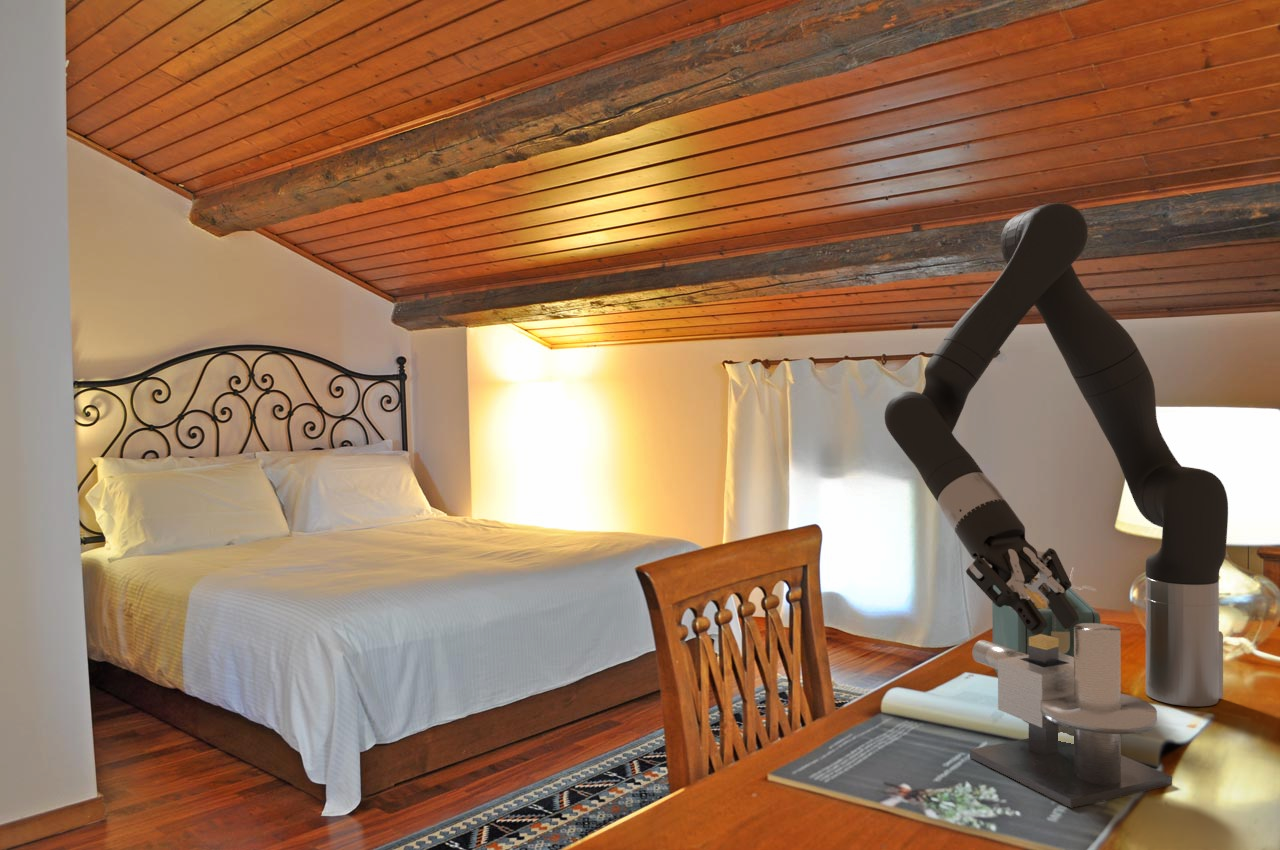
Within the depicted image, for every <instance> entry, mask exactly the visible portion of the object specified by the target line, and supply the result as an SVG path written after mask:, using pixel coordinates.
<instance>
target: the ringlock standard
mask: <svg viewBox="0 0 1280 850" xmlns="http://www.w3.org/2000/svg"><path fill="white" fill-rule="evenodd" d="M1121 630H1122V629H1121V628H1119V627H1117V626H1115V625H1112V624H1106V623H1100V624H1098V623H1082V624H1077V625H1075V626H1074V657H1072V656H1068V655H1065V654H1062V653H1059V665H1056V666H1050V667H1041V666H1038V665H1035V664H1032V663H1029V655H1027V654H1024V653H1021V652H1018V651H1015V650H1012V649H1009V648H1006V647H1003V646H1000V645H997V644H994V643H993V642H992V641H988V640H986V639H980V640H978V641H976V642H975V643H974V645H973V647H972V649H971V650H972V652H971V653H972V657H973V660H974V661H975V662H976V663H979V664H982V665H984V666H987V667H990V668H992V669H994V668H995V669H998V675H997V706H998V707H997V710H998V711H1001V712H1003V713H1006V714H1007V715H1011V716H1013V717H1015V718H1018V719H1020V720H1022V721H1024V722H1027V723H1028V724H1029V723H1031V724H1034V725H1036V726H1039V727H1041V728H1045V727H1050V726H1055V725H1058V726H1060V725H1061V726H1063V727H1067V728H1071V729H1073V731H1074V733H1073V734H1074V744H1071V743H1066V742H1061V741H1058V752H1057V753H1054V754H1051V755H1049V756H1043V755H1040V754H1038V753H1035V752H1032V751H1029V737H1027V738H1024V739H1023V738H1022V739H1018V740H1017V739H1016V740H1013V741H1007V742H1002V743H1001V742H1000V743H998V744H992V745H987V746H981V747H977V748H971V749H969V758H970V759H972V760H974V761H976V762H978V763H979V764H981V763H982V764H981V765H983V766H985V765H986V766H985V767H987V768H989V769H991V768H992V770H993V769H994V771H995V770H996V772H997V771H998V773H999V772H1000V773H999V774H1001V773H1002V775H1003V774H1004V775H1003V776H1005V775H1006V776H1005V777H1007V776H1008V777H1007V778H1009V777H1010V779H1011V778H1012V780H1013V779H1014V781H1015V780H1016V781H1015V782H1017V781H1018V782H1017V783H1019V782H1020V784H1021V785H1023V786H1026V787H1027V786H1028V787H1027V788H1030V789H1031V790H1033V791H1035V792H1038V793H1039V792H1040V793H1039V794H1041V793H1042V794H1041V795H1043V794H1044V795H1043V796H1045V795H1046V796H1045V797H1047V798H1050V799H1051V798H1052V799H1051V800H1053V799H1054V800H1053V801H1055V800H1056V801H1055V802H1057V801H1058V804H1061V803H1062V804H1061V805H1063V806H1065V807H1067V806H1068V807H1067V808H1069V807H1070V808H1069V809H1074V808H1073V807H1075V808H1079V807H1083V806H1086V805H1087V806H1088V805H1091V804H1096V803H1100V802H1104V800H1105V801H1108V800H1109V801H1110V800H1114V799H1116V798H1117V797H1118V798H1121V797H1120V796H1122V797H1125V796H1131V795H1134V794H1139V793H1143V792H1147V791H1151V790H1155V789H1159V788H1163V787H1169V786H1172V785H1173V776H1172V775H1170V774H1167V773H1165V772H1163V771H1161V770H1159V769H1156V768H1153V767H1151V766H1149V765H1147V764H1143V763H1142V762H1139V761H1136V760H1134V759H1132V758H1129V757H1127V756H1124V755H1122V754H1121V753H1122V740H1121V739H1122V735H1129V734H1130V735H1131V734H1139V733H1145V732H1148V731H1150V730H1153V729H1154V728H1155V727H1156V726H1157V724H1158V719H1157V718H1158V716H1157V715H1158V714H1157V713H1158V711H1157V709H1156V707H1155V706H1154V705H1152V704H1151V703H1149V702H1147V701H1145V700H1143V699H1141V698H1139V697H1135V696H1133V695H1128V694H1125V693H1121V691H1122V689H1121V688H1122V687H1121V685H1122V676H1121V675H1122V667H1121V666H1122V663H1121V661H1122V660H1121V659H1122V658H1121V657H1122V656H1121V655H1122V652H1121V651H1122V650H1121V647H1122V645H1121V643H1122V639H1121V637H1122V634H1121V633H1122V632H1121ZM995 669H994V670H995ZM1082 805H1083V806H1082ZM1078 806H1079V807H1078Z"/></svg>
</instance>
